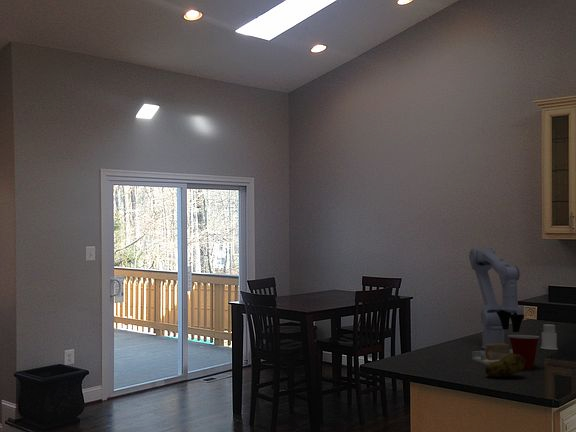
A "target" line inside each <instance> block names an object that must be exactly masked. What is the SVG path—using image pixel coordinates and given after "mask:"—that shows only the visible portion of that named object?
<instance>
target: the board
mask: <svg viewBox="0 0 576 432" xmlns="http://www.w3.org/2000/svg"><path fill="white" fill-rule="evenodd" d="M510 354H513V351H512V348H509V355H510ZM471 360H473V361H475V362H478V363H481V364H483V365H485V366H488V365H489V364H491V363H493V362H496V361H499V360H488V359H486V356H485V350H475V351H471Z"/></svg>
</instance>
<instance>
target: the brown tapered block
mask: <svg viewBox="0 0 576 432" xmlns="http://www.w3.org/2000/svg"><path fill="white" fill-rule="evenodd" d="M509 349H510V344H508V343H506V342H504V343H495V344H485V349H484V351H485V356H486V359H488V360H500V359H502V358H503V357H505V356H507V355H509Z"/></svg>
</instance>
